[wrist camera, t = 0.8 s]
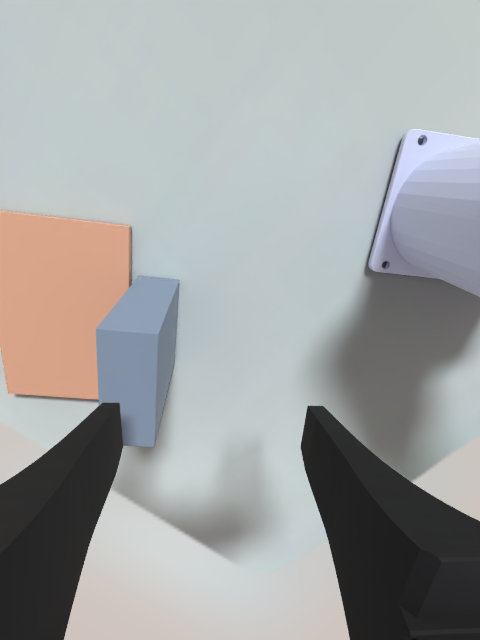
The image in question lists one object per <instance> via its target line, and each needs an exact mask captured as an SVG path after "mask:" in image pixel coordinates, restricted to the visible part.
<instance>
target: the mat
mask: <svg viewBox="0 0 480 640" xmlns="http://www.w3.org/2000/svg"><path fill="white" fill-rule="evenodd" d="M130 286H131V226H128V225H119V224H111V223H102V222H94V221H85V220H77V219H68V218H60V217H51V216H43V215H34V214H26V213H17V212H9V211H0V346H1V353H2V359H3V365H4V371H5V378H6V384H7V390H8V394H23V395H38V396H53V397H68V398H83V399H98V400H99V397H98V371H97V346H96V328H97V327H98V326H99V324H100V323H101V322H102V321H103V319H104V318H105V317H106V316H107V315H108V313H109V312H110V311H111V310H112V308H113V307H114V306H115V305H116V303H117V302H118V301H119V300H120V298H121V297H122V296H123V295H124V294H125V292H126V291H127V290H128V289H129V287H130Z"/></svg>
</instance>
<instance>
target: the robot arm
mask: <svg viewBox="0 0 480 640" xmlns="http://www.w3.org/2000/svg"><path fill="white" fill-rule="evenodd" d="M420 136H422V137H423V143H422V145H419V144H418V139H419V137H420ZM385 261H387V265H386V266H385V267H383V268H382V264H383V262H385ZM368 266H369V268H370V269H371V270H373V271H375V272H382V273H391V274H400V275H409V276H418V277H427V278H436V279H442V280H444V281H446V282H448V283H450V284H452V285H455V286H457V287H459V288H461V289H463V290H465V291H467V292H470V293H472V294H474V295H476V296H478V297H480V139H477V138H471V137H465V136H458V135H452V134H446V133H439V132H433V131H427V130H421V129H411V130H409V131H407V132H406V133H405V134H404V135H403V138H402V141H401V145H400V148H399V152H398V156H397V159H396V163H395V167H394V170H393V174H392V178H391V181H390V185H389V189H388V192H387V196H386V200H385V203H384V207H383V211H382V214H381V218H380V222H379V225H378V229H377V233H376V236H375V240H374V244H373V248H372V251H371V255H370V259H369V263H368ZM122 448H123V438H122V426H121V414H120V403H102V404H101V405H100V406H98V407H97V408H96V409H95V410H94V411H93V412H92V413H91V414H90V415H89V416H88V417H87V418H86V419H84V420H83V421H82V422H81V423H80V424H79V425H78V426H77V427H76V428H75V429H74V430H72V431H71V432H70V433H69V434H68V435H67V436H66V437H65V438H63V439H62V440H61V441H60V442H59V443H58V444H56V445H55V446H54V447H53V448H51V449H50V450H49V451H48V452H47V453H46V454H44V455H43V456H42V457H40V458H39V459H38V460H36V461H35V462H34V463H32V464H31V465H29V466H28V467H27V468H25V469H24V470H22V471H21V472H19V473H18V474H16V475H15V476H14V477H12V478H11V479H9V480H7V481H6V482H4V483H2V484H1V485H0V640H64V636H65V632H66V628H67V624H68V620H69V616H70V612H71V609H72V604H73V601H74V597H75V593H76V590H77V586H78V582H79V579H80V575H81V571H82V568H83V564H84V561H85V557H86V554H87V550H88V546H89V543H90V541H91V538H92V535H93V532H94V529H95V527H96V524H97V521H98V519H99V516H100V514H101V511H102V509H103V506H104V503H105V501H106V498H107V496H108V493H109V491H110V488H111V485H112V483H113V480H114V477H115V475H116V472H117V468H118V465H119V461H120V457H121V452H122ZM301 451H302V456H303V461H304V466H305V470H306V474H307V477H308V480H309V483H310V486H311V489H312V492H313V495H314V498H315V501H316V504H317V506H318V509H319V512H320V515H321V518H322V521H323V524H324V527H325V530H326V534H327V537H328V540H329V544H330V549H331V553H332V557H333V561H334V565H335V569H336V574H337V578H338V583H339V588H340V592H341V596H342V601H343V606H344V611H345V616H346V621H347V626H348V631H349V636H350V640H480V521H478V520H476V519H474V518H472V517H470V516H467V515H466V514H464V513H462V512H460V511H458V510H456V509H455V508H453V507H451V506H449V505H447V504H445V503H444V502H442V501H440V500H439V499H437V498H435V497H434V496H432V495H430V494H429V493H427V492H426V491H424V490H422V489H421V488H419V487H418V486H416V485H414V484H413V483H412V482H410V481H409V480H407V479H406V478H404V477H403V476H402V475H400V474H399V473H397V472H396V471H395V470H393V469H392V468H391V467H389V466H388V465H387V464H385V463H384V462H383V461H382V460H380V459H379V458H378V457H377V456H376V455H374V454H373V453H372V452H371V451H370V450H368V449H367V448H366V447H365V446H364V445H363V444H362V443H361V442H360V441H358V440H357V439H356V438H355V437H354V436H353V435H352V434H351V433H350V432H349V431H348V430H347V429H346V428H345V427H344V426H343V425H342V424H341V423H340V422H339V421H338V420H337V419H336V418H335V417H334V416H333V415H332V414H331V413H330V412H329V411H328V410H327V409H326V408H324V407H323V406H308V408H307V413H306V419H305V425H304V431H303V436H302V442H301Z"/></svg>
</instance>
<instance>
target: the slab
mask: <svg viewBox="0 0 480 640" xmlns="http://www.w3.org/2000/svg"><path fill="white" fill-rule="evenodd" d="M178 294H179V280H173V279H163V278H153V277H144V276H138V278H137V279H136V280H135V281H134V282H133V284H132V285H131V286H130V287H129V289H128V290H127V291H126V292H125V294H124V295H123V296H122V297H121V298H120V300H119V301H118V302H117V303H116V305H115V306H114V307H113V308H112V310H111V311H110V312H109V313H108V315H107V316H106V317H105V318H104V319H103V321H102V322H101V323H100V324H99V326H98V327H97V328H96V346H97V371H98V397H99V406H100V405H101V404H102V403H120V414H121V426H122V438H123V445H124V446H142V447H154V446H155V442H156V437H157V433H158V429H159V425H160V421H161V417H162V413H163V408H164V404H165V400H166V396H167V392H168V388H169V383H170V379H171V375H172V371H173V367H174V361H175V345H176V328H177V311H178Z"/></svg>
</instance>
